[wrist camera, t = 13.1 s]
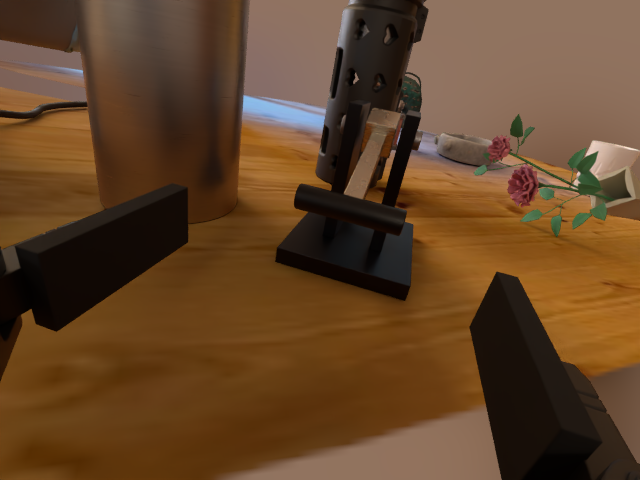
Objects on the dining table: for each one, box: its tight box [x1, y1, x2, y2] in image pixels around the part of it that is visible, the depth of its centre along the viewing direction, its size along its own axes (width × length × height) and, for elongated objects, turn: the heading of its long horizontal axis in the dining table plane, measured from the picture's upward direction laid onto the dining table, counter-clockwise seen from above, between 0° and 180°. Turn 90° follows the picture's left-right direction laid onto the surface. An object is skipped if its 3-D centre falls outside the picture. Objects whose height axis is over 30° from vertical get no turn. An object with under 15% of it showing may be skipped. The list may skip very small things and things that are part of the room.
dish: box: [434, 132, 492, 166], centre depth 79 cm, size 14×14×5 cm
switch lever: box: [294, 108, 407, 236], centre depth 22 cm, size 12×6×2 cm, turn 164°
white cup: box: [572, 140, 640, 196], centre depth 68 cm, size 8×8×10 cm
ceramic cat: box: [376, 72, 422, 128], centre depth 107 cm, size 20×6×20 cm, turn 106°
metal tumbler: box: [74, 0, 250, 224], centre depth 28 cm, size 12×12×20 cm
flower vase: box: [474, 114, 640, 237], centre depth 43 cm, size 12×12×35 cm
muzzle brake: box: [316, 0, 428, 188], centre depth 43 cm, size 10×28×10 cm
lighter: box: [392, 100, 405, 149], centre depth 77 cm, size 8×3×10 cm, turn 179°
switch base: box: [275, 100, 423, 301], centre depth 27 cm, size 12×10×12 cm
